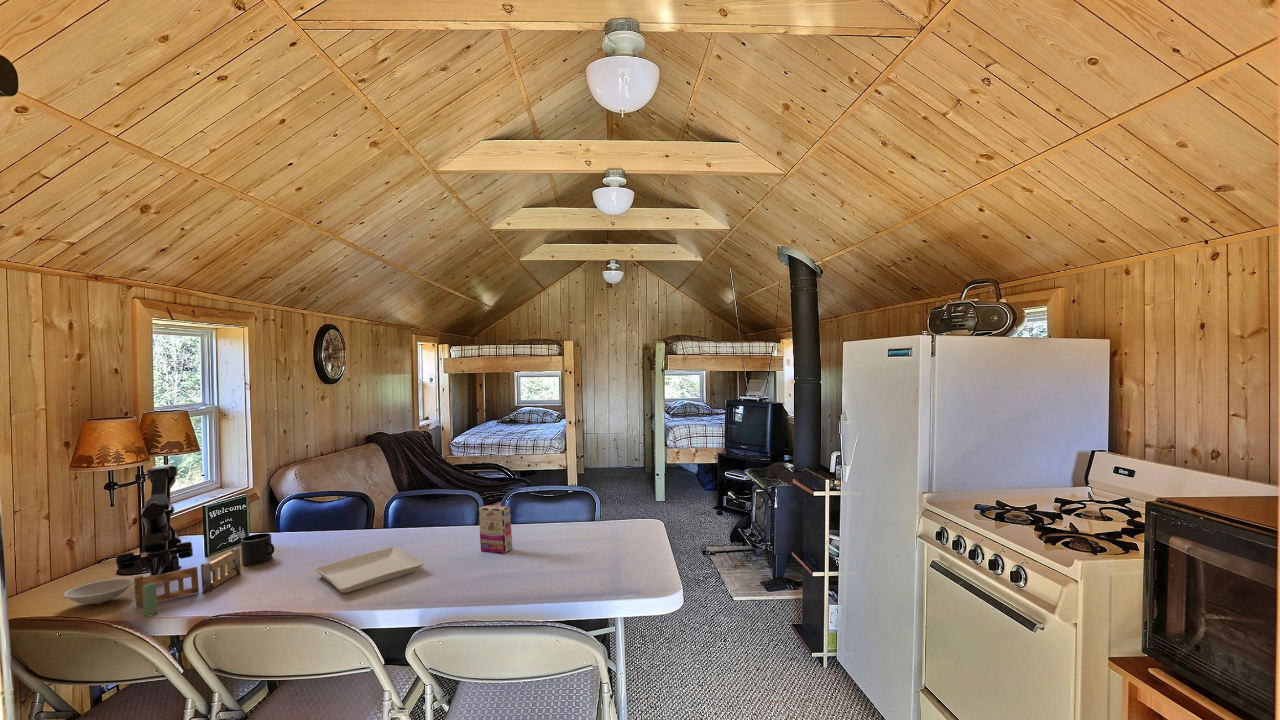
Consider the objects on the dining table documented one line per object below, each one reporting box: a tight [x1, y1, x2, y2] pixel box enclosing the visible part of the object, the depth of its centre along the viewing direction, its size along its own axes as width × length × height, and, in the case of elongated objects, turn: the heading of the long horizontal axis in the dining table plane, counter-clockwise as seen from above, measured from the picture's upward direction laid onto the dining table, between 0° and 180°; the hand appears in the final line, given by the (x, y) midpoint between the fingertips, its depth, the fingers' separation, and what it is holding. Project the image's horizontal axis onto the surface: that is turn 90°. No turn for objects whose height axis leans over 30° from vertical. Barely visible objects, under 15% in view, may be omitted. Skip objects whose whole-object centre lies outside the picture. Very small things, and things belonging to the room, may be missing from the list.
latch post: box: [142, 583, 159, 617], centre depth 173 cm, size 2×2×9 cm
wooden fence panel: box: [200, 547, 242, 594], centre depth 196 cm, size 2×17×9 cm, turn 1°
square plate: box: [314, 546, 425, 594], centre depth 197 cm, size 27×27×4 cm
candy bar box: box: [478, 504, 513, 554], centre depth 216 cm, size 11×5×16 cm, turn 68°
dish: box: [62, 578, 135, 605], centre depth 183 cm, size 18×14×5 cm
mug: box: [240, 532, 275, 566], centre depth 216 cm, size 9×12×9 cm
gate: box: [133, 566, 200, 607], centre depth 183 cm, size 15×2×8 cm, turn 125°
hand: (154, 579), depth 183 cm, fingers closed
